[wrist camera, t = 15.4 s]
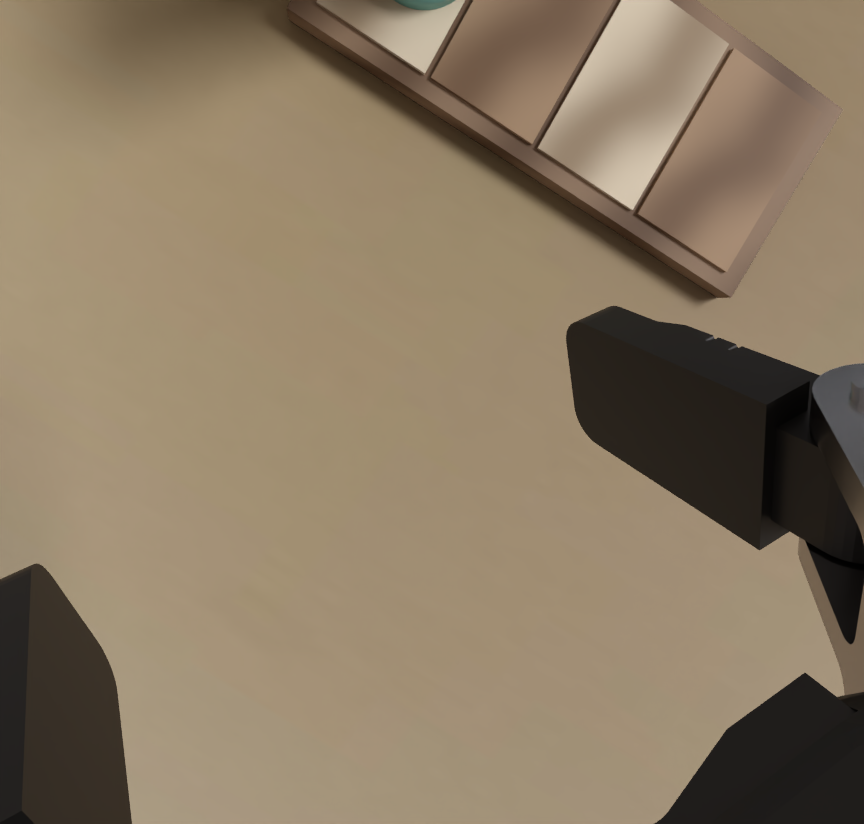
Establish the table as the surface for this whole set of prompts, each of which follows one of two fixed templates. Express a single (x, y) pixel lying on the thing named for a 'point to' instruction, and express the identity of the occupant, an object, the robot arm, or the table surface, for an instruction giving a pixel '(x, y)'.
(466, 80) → the board
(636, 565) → the table surface
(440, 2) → the pawn
